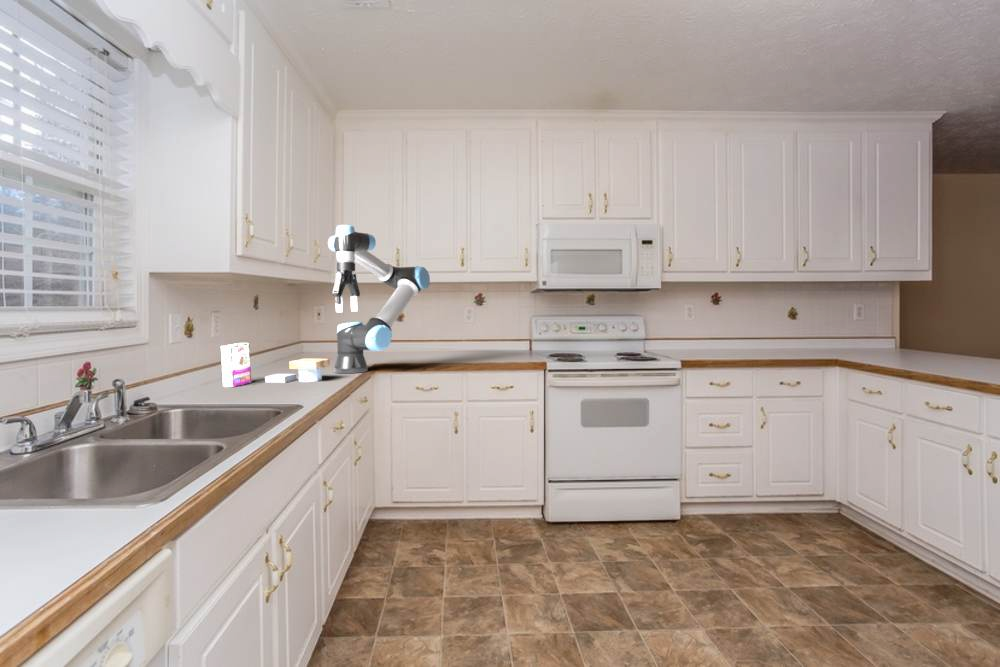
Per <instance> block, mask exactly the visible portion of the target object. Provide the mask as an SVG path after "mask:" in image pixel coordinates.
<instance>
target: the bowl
mask: <svg viewBox="0 0 1000 667" xmlns="http://www.w3.org/2000/svg"><path fill="white" fill-rule="evenodd" d="M322 369H323V368H320V369H297V370H298V372H297V374H298V382H300V383H310V382H311V383H312V382H319V381H320V382H321V381H322V380H323V370H322Z"/></svg>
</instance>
